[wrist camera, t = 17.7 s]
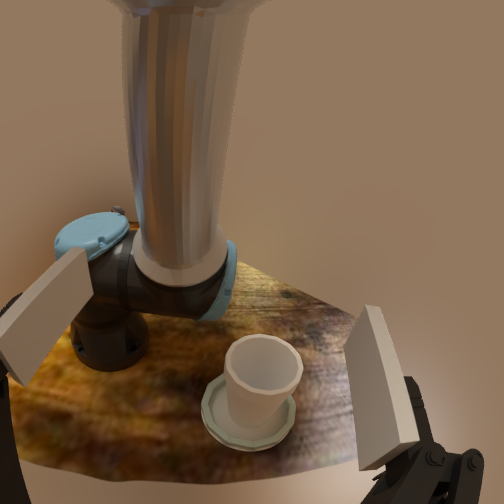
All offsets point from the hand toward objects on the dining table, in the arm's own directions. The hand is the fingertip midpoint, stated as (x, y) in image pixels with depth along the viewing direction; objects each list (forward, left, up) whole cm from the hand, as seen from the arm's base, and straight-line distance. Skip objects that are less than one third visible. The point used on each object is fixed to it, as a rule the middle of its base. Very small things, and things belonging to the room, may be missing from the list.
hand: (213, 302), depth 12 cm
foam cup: (-9, +10, -32) cm, 34 cm away
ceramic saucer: (-9, +10, -32) cm, 35 cm away
